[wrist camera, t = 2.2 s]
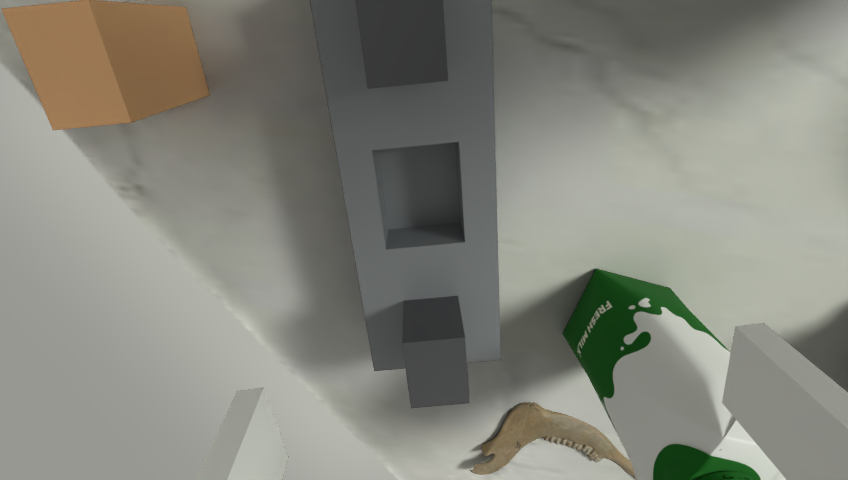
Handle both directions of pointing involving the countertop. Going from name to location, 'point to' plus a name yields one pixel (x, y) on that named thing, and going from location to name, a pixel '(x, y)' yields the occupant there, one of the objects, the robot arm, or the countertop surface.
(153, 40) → the plug
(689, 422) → the milk carton
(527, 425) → the jawbone
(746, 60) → the countertop surface
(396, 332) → the power strip
